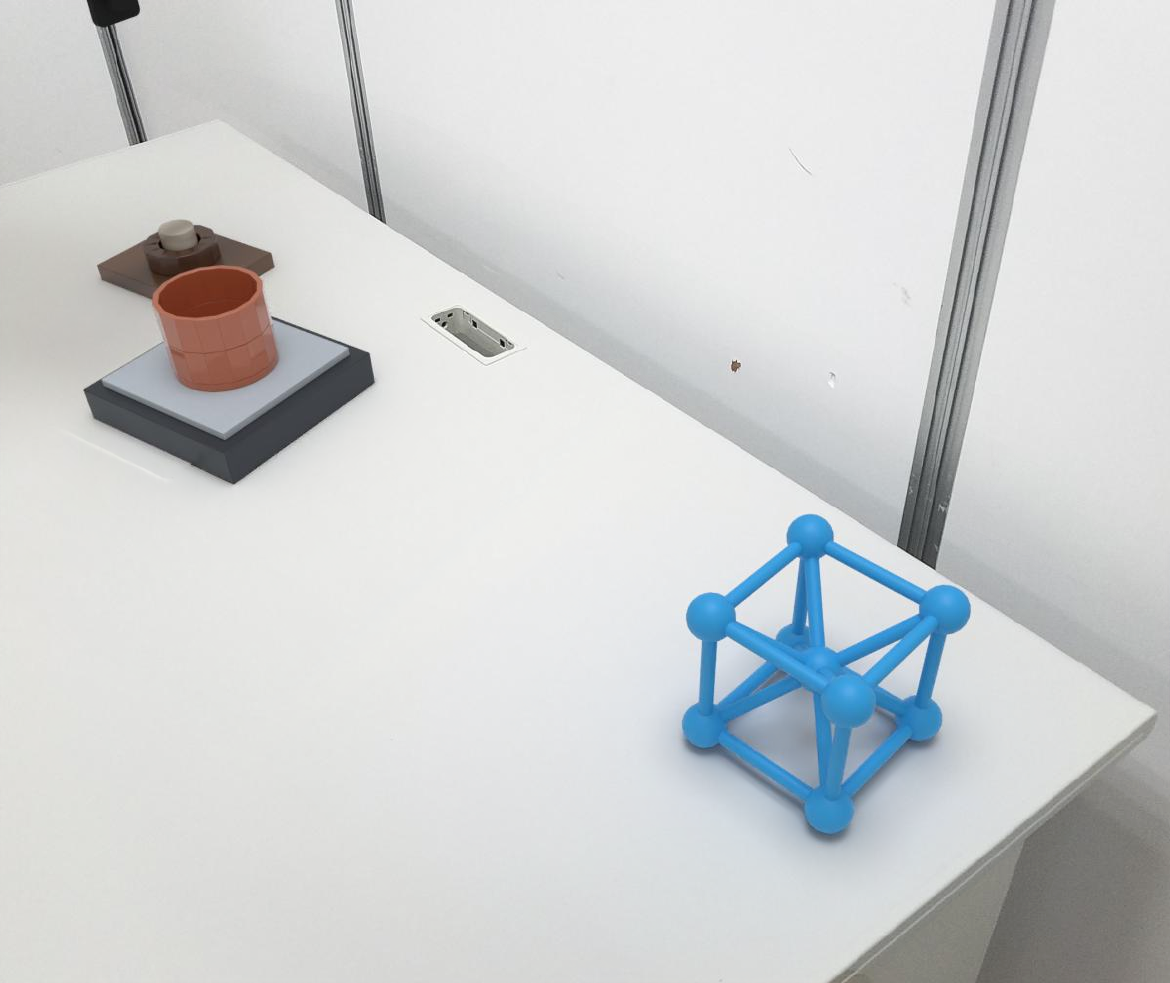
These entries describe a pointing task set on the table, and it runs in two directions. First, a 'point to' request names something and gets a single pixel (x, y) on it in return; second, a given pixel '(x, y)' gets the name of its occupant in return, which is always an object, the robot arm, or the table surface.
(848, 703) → the molecular structure
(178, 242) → the button
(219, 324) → the terracotta cup
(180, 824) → the table surface
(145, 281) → the panel
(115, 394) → the scale
